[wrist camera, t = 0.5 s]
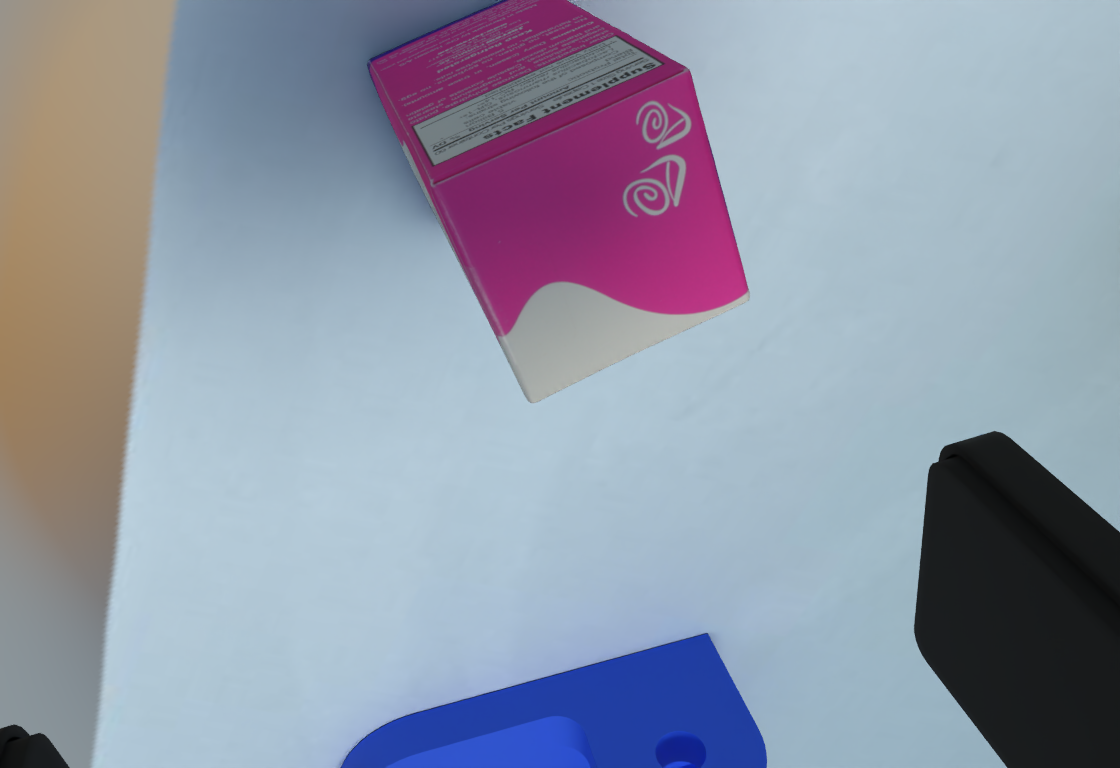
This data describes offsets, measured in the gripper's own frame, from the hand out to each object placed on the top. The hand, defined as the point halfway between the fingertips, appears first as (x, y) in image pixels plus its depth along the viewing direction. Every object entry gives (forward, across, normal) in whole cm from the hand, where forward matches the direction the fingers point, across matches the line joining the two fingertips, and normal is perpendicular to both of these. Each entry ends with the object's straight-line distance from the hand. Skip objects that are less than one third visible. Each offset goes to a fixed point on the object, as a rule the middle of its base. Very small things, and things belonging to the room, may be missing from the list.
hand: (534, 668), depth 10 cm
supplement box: (+22, -4, +1) cm, 22 cm away
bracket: (+22, 0, +31) cm, 38 cm away
